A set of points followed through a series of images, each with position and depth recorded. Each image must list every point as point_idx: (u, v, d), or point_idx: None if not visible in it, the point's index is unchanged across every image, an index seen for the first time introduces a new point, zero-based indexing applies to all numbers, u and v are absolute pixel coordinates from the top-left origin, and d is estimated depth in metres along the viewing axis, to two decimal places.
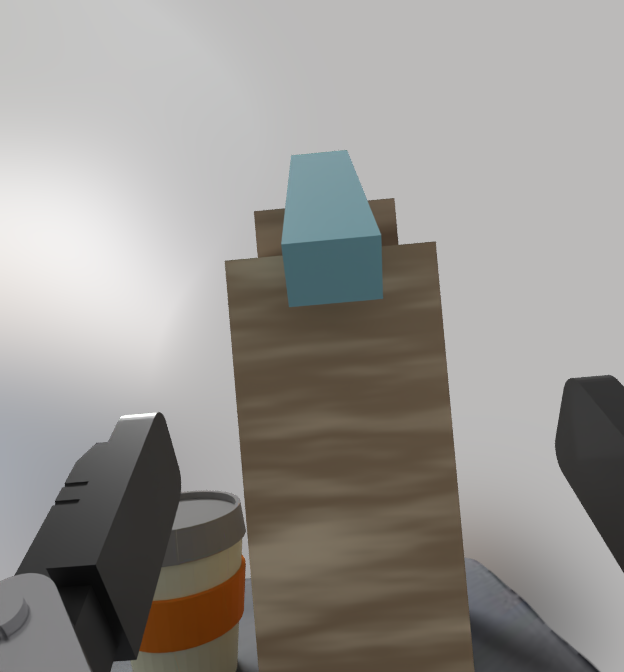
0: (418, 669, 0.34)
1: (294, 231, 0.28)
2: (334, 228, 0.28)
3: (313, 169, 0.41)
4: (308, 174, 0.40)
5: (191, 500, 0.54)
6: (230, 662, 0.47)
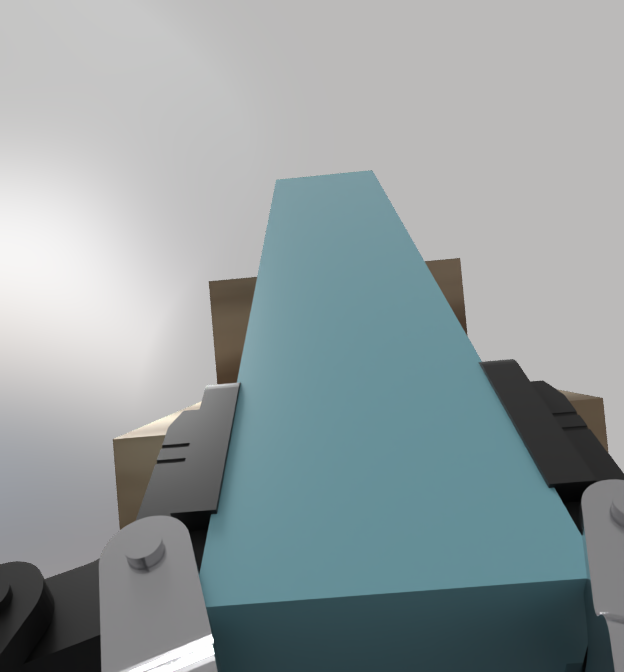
0: None
1: (256, 490, 0.08)
2: (397, 485, 0.08)
3: (315, 212, 0.21)
4: (305, 225, 0.20)
5: None
6: None
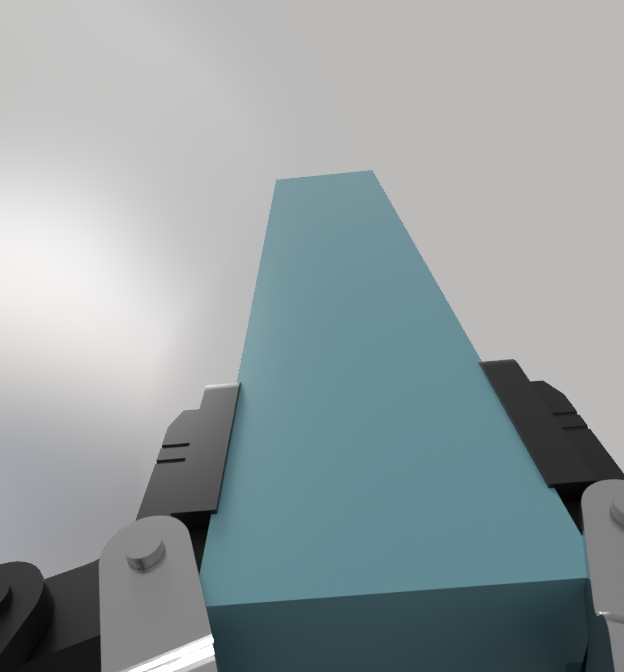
0: None
1: (257, 490, 0.08)
2: (397, 484, 0.08)
3: (315, 212, 0.22)
4: (305, 225, 0.20)
5: None
6: None
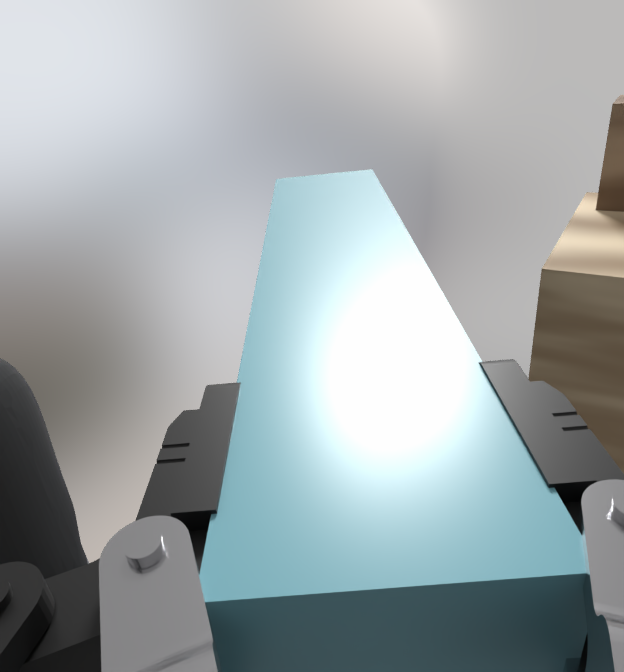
0: None
1: (257, 486, 0.08)
2: (396, 481, 0.08)
3: (315, 211, 0.22)
4: (305, 224, 0.20)
5: None
6: None
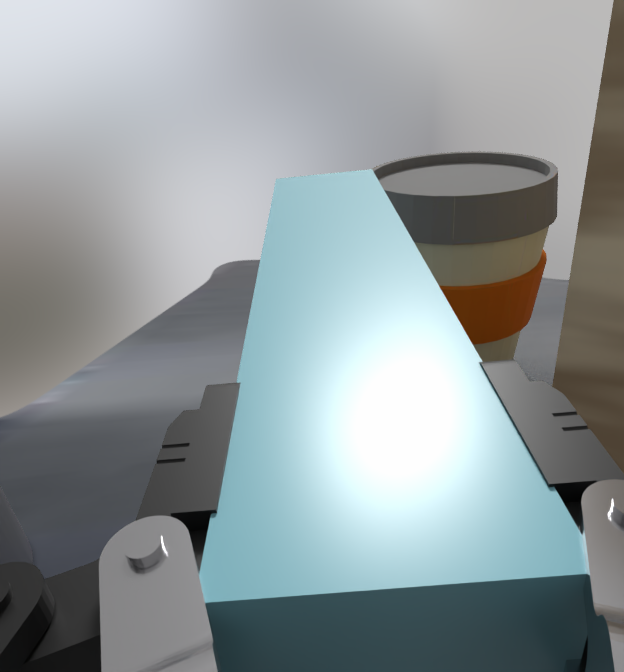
0: None
1: (257, 487, 0.08)
2: (396, 482, 0.08)
3: (315, 211, 0.22)
4: (305, 224, 0.20)
5: (482, 164, 0.38)
6: None
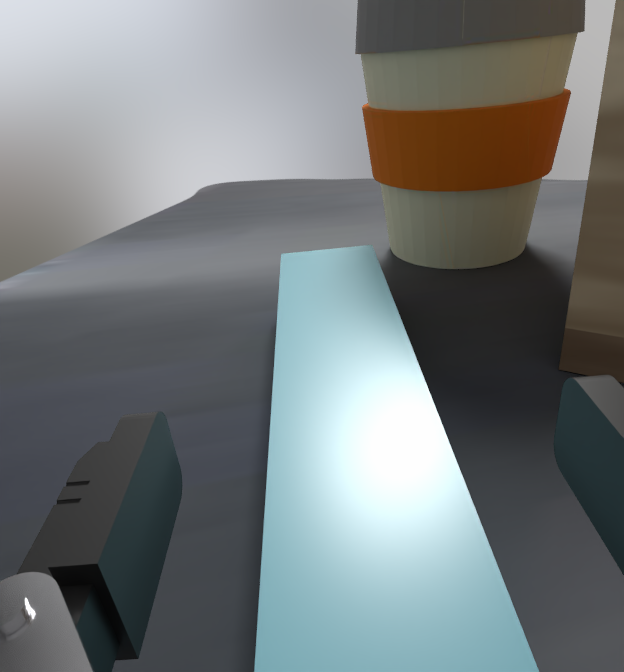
0: None
1: (290, 663, 0.10)
2: (407, 661, 0.10)
3: (321, 303, 0.23)
4: (312, 322, 0.22)
5: None
6: (518, 234, 0.33)
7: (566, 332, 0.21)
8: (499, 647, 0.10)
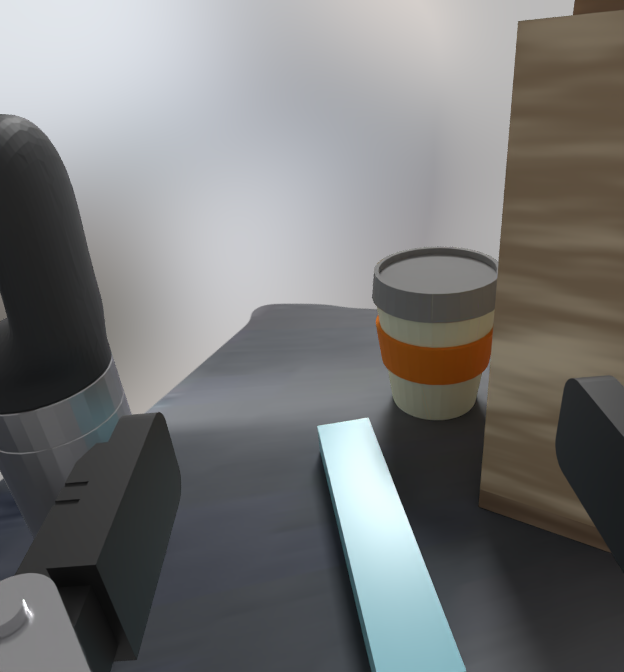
0: None
1: (383, 653, 0.31)
2: (419, 648, 0.31)
3: (351, 472, 0.45)
4: (350, 487, 0.43)
5: (455, 257, 0.55)
6: (469, 400, 0.54)
7: (480, 491, 0.43)
8: (445, 641, 0.32)
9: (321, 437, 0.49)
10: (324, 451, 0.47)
